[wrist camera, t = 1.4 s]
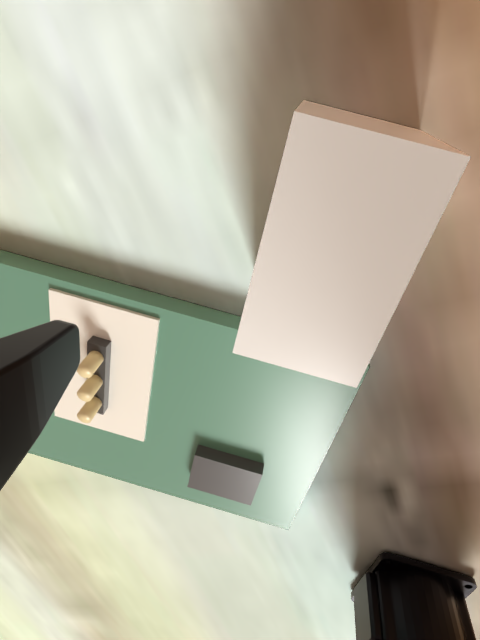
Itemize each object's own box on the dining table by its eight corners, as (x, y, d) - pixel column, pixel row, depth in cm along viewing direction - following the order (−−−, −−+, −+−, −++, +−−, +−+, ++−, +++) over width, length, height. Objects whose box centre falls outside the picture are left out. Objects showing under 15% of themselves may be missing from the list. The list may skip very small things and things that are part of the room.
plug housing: (420, 129, 15) (471, 156, 10) (347, 304, 19) (356, 387, 14) (303, 99, 15) (293, 111, 10) (256, 279, 19) (232, 352, 14)
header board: (367, 352, 20) (374, 394, 17) (289, 513, 27) (285, 560, 25) (-15, 245, 21) (-65, 270, 18) (11, 430, 28) (-23, 468, 25)
